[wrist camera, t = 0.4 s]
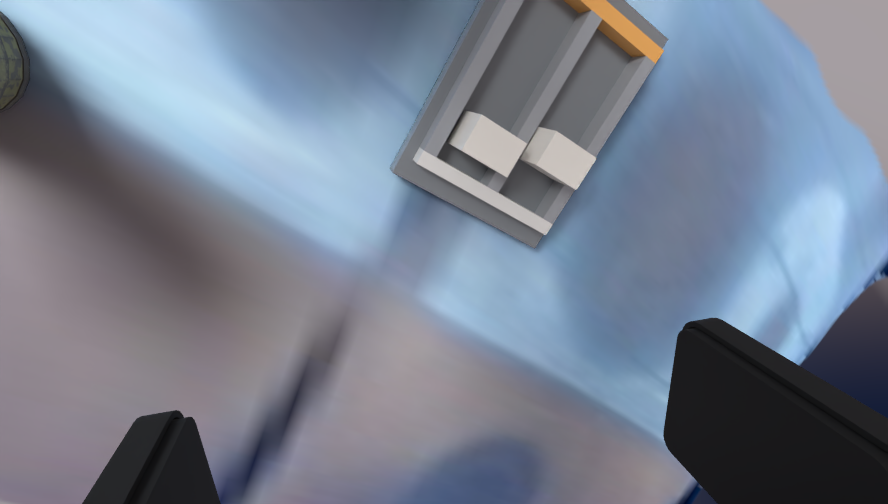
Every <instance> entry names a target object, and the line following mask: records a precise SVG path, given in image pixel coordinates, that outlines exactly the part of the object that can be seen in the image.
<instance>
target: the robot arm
mask: <svg viewBox="0 0 888 504" xmlns="http://www.w3.org/2000/svg"><path fill="white" fill-rule="evenodd" d="M664 441H665V443H666V446H667V448H668V449H669V451H670V452H671V453H672V454H673V455H674V457H675V458H676V459H677V460H678V461H679V462H680V463H681V464H682V465H683V466H684V467H685V468H686V470H687V471H688V472H689V473H690V474H691V475H692V476H693V477H694V478H695V479H696V480H697V482H698V483H699V484H700V485H701V486H702V487H703V488H704V489H705V490H706V491H707V492H708V494H709V495H710V496H711V497H712V498H713V499H714V500H715V501H716V502H717V503H718V504H888V419H887V418H886V417H884V416H883V415H881V414H879V413H877V412H876V411H874V410H872V409H871V408H869V407H867V406H866V405H864V404H862V403H861V402H859V401H857V400H856V399H854V398H852V397H851V396H849V395H847V394H846V393H844V392H842V391H841V390H839V389H837V388H835V387H834V386H832V385H830V384H829V383H827V382H825V381H824V380H822V379H820V378H819V377H817V376H815V375H814V374H812V373H810V372H809V371H807V370H805V369H803V368H802V367H800V366H799V365H797V364H795V363H793V362H792V361H790V360H788V359H787V358H785V357H783V356H782V355H780V354H778V353H777V352H775V351H773V350H772V349H770V348H768V347H767V346H765V345H763V344H762V343H760V342H758V341H756V340H755V339H753V338H751V337H750V336H748V335H746V334H745V333H743V332H741V331H740V330H738V329H736V328H735V327H733V326H731V325H730V324H728V323H726V322H725V321H723V320H721V319H718V318H708V319H703V320H697V321H691V322H688V323H686V324H685V326H684V327H683V330H682V331H680V333H679V334H678V337H677V343H676V350H675V357H674V364H673V371H672V378H671V385H670V391H669V398H668V405H667V412H666V419H665V426H664ZM82 504H220V501H219V497H218V494H217V491H216V488H215V484H214V481H213V478H212V475H211V471H210V468H209V465H208V461H207V458H206V455H205V452H204V448H203V445H202V442H201V439H200V435H199V432H198V429H197V426H196V423H195V420H194V419H193V418H192V417H186V418H184V417H183V415H182V413H181V412H180V411H177V410H175V411H169V412H163V413H158V414H152V415H146V416H141V417H139V418H137V419H136V420H135V422H134V423H133V424H132V426H131V428H130V429H129V431H128V432H127V434H126V435H125V437H124V439H123V440H122V442H121V443H120V445H119V446H118V448H117V450H116V451H115V453H114V454H113V456H112V458H111V459H110V461H109V462H108V464H107V465H106V467H105V469H104V470H103V472H102V473H101V475H100V476H99V478H98V480H97V481H96V483H95V484H94V486H93V488H92V489H91V491H90V492H89V494H88V495H87V497H86V499H85V500H84V502H83V503H82Z"/></svg>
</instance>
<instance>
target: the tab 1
mask: <svg viewBox="0 0 888 504" xmlns="http://www.w3.org/2000/svg"><path fill="white" fill-rule="evenodd" d="M447 143H449V144H451V145H452V146H454V147H456V148H457V149H459V150H461V151H462V152H464V153H466V154H467V155H469V156H471V157H472V158H474V159H476V160H478V161H479V162H481V163H483V164H484V165H486V166H488V167H489V168H491V169H493V170H495V171H496V172H498V173H500V174H502V175H503V176H505V177H508V175H509V174H510V172H511V170H512V169H513V167H514V165H515V164H516V162H517V160H518V159H519V157H520V155H521V154H522V152H523V150H524V149H525V147H526V145H527V143H525V142H524V141H522V140H521V139H519V138H518V137H516V136H515V135H513V134H511V133H510V132H508V131H507V130H505V129H504V128H502V127H501V126H499V125H497V124H496V123H494V122H493V121H491V120H490V119H488V118H487V117H485V116H483V115H482V114H478V113H474V112H470V111H465V110H464V112H463V114H462V116H461V117H460V119H459V121H458V123H457V125H456V126H455V128H454V130H453V132H452V134H451V135H450V137H449V139H448V141H447Z"/></svg>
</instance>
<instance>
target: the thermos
mask: <svg viewBox="0 0 888 504" xmlns="http://www.w3.org/2000/svg"><path fill="white" fill-rule="evenodd" d="M29 80H30V69H29V57H28V54H27V51H26V49H25V46H24V43H23V40H22V38H21V37H20V35H19V34H18V32H17V31H16V29H15V28H14V26H13V25H12V24H11V22H10V21H9V19H8V18H7V17H6V16H5V15H4V14H2V13H1V12H0V112H2V111H4V110H7V109H9V108H11V107H12V106H13V105H14V104H15V103H16V102H17V101H18V100H19V99H20V98H21V97H22V96H23V94H24V92H25V89H26V87H27V85H28V82H29Z"/></svg>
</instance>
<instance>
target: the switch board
mask: <svg viewBox="0 0 888 504" xmlns="http://www.w3.org/2000/svg"><path fill="white" fill-rule="evenodd" d="M667 41H668V39H667V38H666V37H665V36H664V35H663V34H662V33H661V32H659V31H658V30H657V29H656V28H655V27H654V26H653V25H652V24H650V23H649V22H648V21H647V20H646V19H645V18H644V17H643V16H641V15H640V14H639V13H638V12H637V11H636V10H635V9H634V8H632V7H631V6H630V5H629V4H628V3H627V2H626V1H625V0H480V1H479V3H478V5H477V6H476V8H475V10H474V12H473V14H472V16H471V18H470V19H469V21H468V23H467V25H466V27H465V29H464V31H463V32H462V34H461V36H460V38H459V40H458V42H457V44H456V46H455V47H454V49H453V51H452V53H451V55H450V57H449V59H448V60H447V62H446V64H445V66H444V68H443V70H442V72H441V74H440V75H439V77H438V79H437V81H436V83H435V85H434V87H433V88H432V90H431V92H430V94H429V96H428V98H427V100H426V102H425V103H424V105H423V107H422V109H421V111H420V113H419V115H418V116H417V118H416V120H415V122H414V124H413V126H412V128H411V129H410V131H409V133H408V135H407V137H406V139H405V141H404V143H403V144H402V146H401V148H400V150H399V152H398V154H397V156H396V157H395V159H394V161H393V163H392V165H391V167H390V169H391V171H392V172H393V173H394V174H396V175H398V176H400V177H402V178H404V179H406V180H407V181H409V182H411V183H413V184H415V185H417V186H419V187H421V188H422V189H424V190H426V191H428V192H430V193H432V194H434V195H436V196H437V197H439V198H441V199H443V200H445V201H447V202H449V203H450V204H452V205H454V206H456V207H458V208H460V209H462V210H464V211H465V212H467V213H469V214H471V215H473V216H475V217H477V218H479V219H480V220H482V221H484V222H486V223H488V224H490V225H492V226H493V227H495V228H497V229H499V230H501V231H503V232H505V233H507V234H508V235H510V236H512V237H514V238H516V239H518V240H520V241H522V242H523V243H525V244H527V245H529V246H531V247H533V248H535V247H536V246H537V244H538V243H539V241H540V240H541V238H542V236H543V235H546V234H547V233H548V231H549V230H550V228H551V226H552V225H553V223H554V222H555V220H556V219H557V217H558V216H559V214H560V212H561V211H562V209H563V208H564V206H565V205H566V203H567V201H568V200H569V198H570V197H571V195H572V194H573V192H574V191H575V189H573V188H571V187H568V186H566V185H564V184H562V183H560V182H558V181H555V180H553V179H551V178H549V177H548V176H546V175H545V174H543V173H541V172H540V171H538V170H536V169H535V168H533V167H532V166H530V165H528V164H527V163H525V162H524V161H522V160H520V159H518V160H517V162H516V164H515V165H514V167H513V169H512V170H511V172H510V174H509V175H508V177H505V176H503V175H502V174H500V173H498V172H496V171H495V170H493V169H491V168H489V167H488V166H486V165H484V164H483V163H481V162H479V161H478V160H476V159H474V158H472V157H471V156H469V155H467V154H466V153H464V152H462V151H461V150H459V149H457V148H456V147H454V146H452V145H451V144H449V143H447V141H448V139H449V137H450V135H451V134H452V132H453V130H454V128H455V126H456V125H457V123H458V121H459V119H460V117H461V116H462V114H463V112H464V110H465V111H470V112H474V113H478V114H482V115H483V116H485V117H487V118H488V119H490V120H491V121H493V122H494V123H496V124H497V125H499V126H501V127H502V128H504V129H505V130H507V131H508V132H510V133H511V134H513V135H515V136H516V137H518V138H519V139H521V140H522V141H524V142H525V143H527V144H528V142H529V141H530V139H531V137H532V136H533V134H534V132H535V131H536V129H537V127H542V128H546V129H550V130H554V131H557V132H559V133H560V134H562V135H563V136H565V137H566V138H568V139H569V140H571V141H572V142H574V143H575V144H577V145H578V146H580V147H581V148H583V149H584V150H586V151H587V152H588V153H590V154H591V155H593V156H594V157H596V156H597V155H598V153H599V151H600V150H601V148H602V147H603V145H604V144H605V142H606V140H607V139H608V137H609V136H610V134H611V133H612V131H613V130H614V128H615V126H616V125H617V123H618V122H619V120H620V119H621V117H622V115H623V114H624V112H625V111H626V109H627V108H628V106H629V105H630V103H631V101H632V100H633V98H634V97H635V95H636V94H637V92H638V90H639V89H640V87H641V86H642V84H643V83H644V81H645V80H646V78H647V76H648V75H649V73H650V72H651V70H652V69H653V67H654V65H655V64H656V62H657V61H658V59H659V58H660V56H661V54H662V53H663V51H664V50H663V49H662V48H663V47H664V45H665V44H666V42H667ZM526 146H527V145H526ZM523 151H524V150H523ZM520 156H521V155H520Z"/></svg>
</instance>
